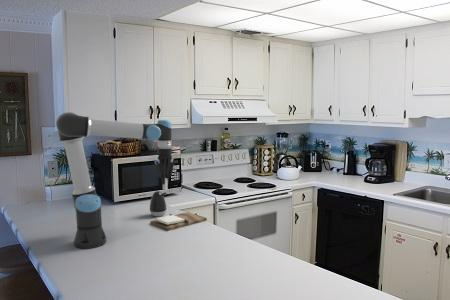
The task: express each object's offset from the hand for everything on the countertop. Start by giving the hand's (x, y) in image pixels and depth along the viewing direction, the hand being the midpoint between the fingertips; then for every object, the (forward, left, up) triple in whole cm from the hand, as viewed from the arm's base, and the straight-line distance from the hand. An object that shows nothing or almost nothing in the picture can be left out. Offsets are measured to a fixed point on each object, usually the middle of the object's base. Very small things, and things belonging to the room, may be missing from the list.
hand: (165, 189), depth 222 cm
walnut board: (+8, -1, -20) cm, 22 cm away
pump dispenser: (+7, +19, -20) cm, 29 cm away
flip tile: (+2, -1, -17) cm, 17 cm away
